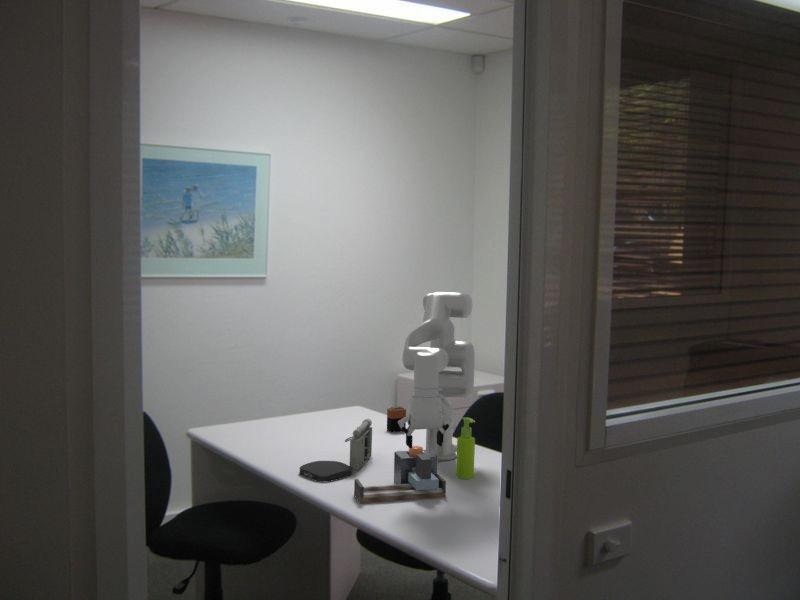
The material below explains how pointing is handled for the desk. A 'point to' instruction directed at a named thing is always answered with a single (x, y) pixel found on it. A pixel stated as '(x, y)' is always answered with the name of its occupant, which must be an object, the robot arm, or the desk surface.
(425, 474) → the carriage
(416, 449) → the button
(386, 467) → the desk surface
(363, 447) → the geiger counter
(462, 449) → the soap dispenser
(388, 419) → the battery
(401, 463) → the cabinet
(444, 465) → the desk surface
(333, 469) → the media streaming box
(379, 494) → the rail
